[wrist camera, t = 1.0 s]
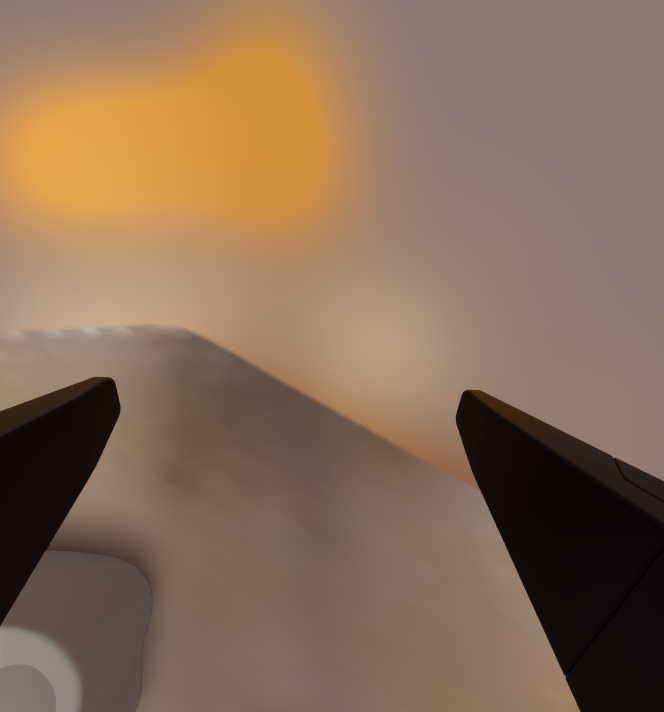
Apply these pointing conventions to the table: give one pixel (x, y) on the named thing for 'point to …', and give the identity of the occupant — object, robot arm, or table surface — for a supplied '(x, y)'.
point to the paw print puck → (75, 636)
